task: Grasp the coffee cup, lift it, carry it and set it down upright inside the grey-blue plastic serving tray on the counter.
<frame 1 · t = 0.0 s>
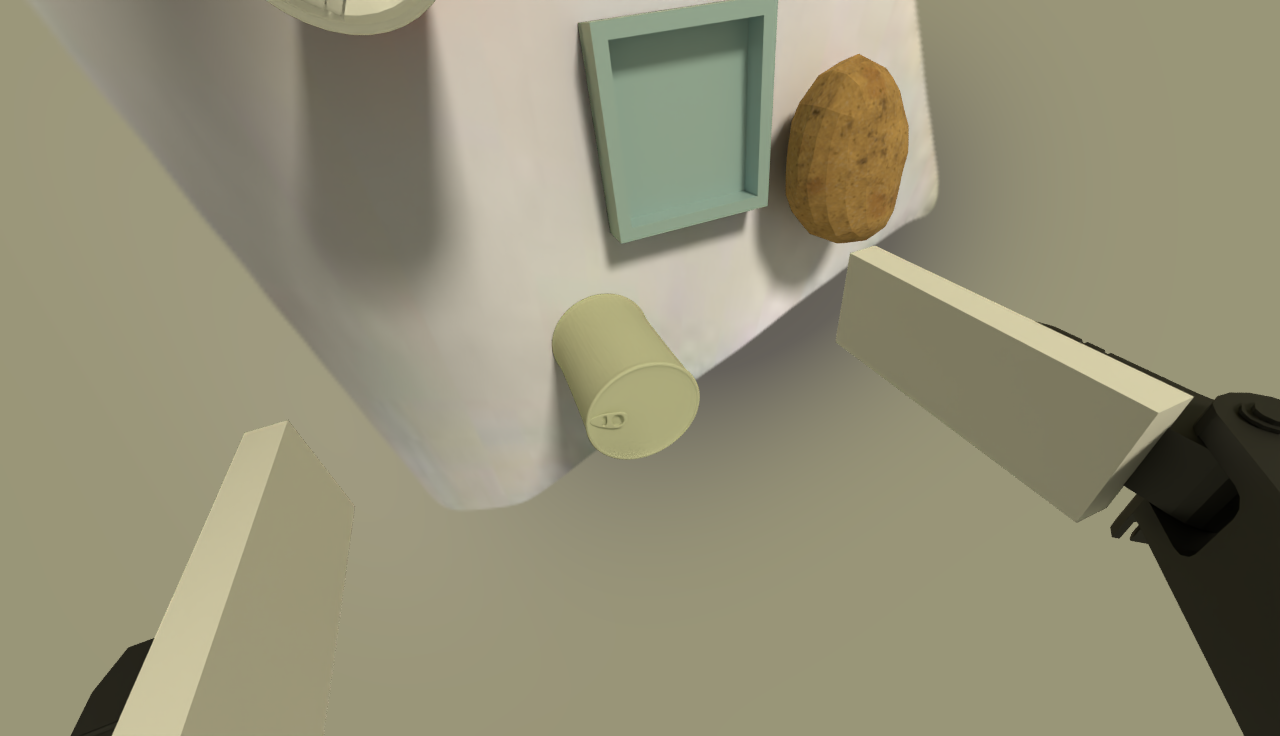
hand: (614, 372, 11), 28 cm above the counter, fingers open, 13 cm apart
tray: (677, 123, 36), on the counter
potato: (809, 146, 42), on the counter
can: (600, 337, 45), on the counter
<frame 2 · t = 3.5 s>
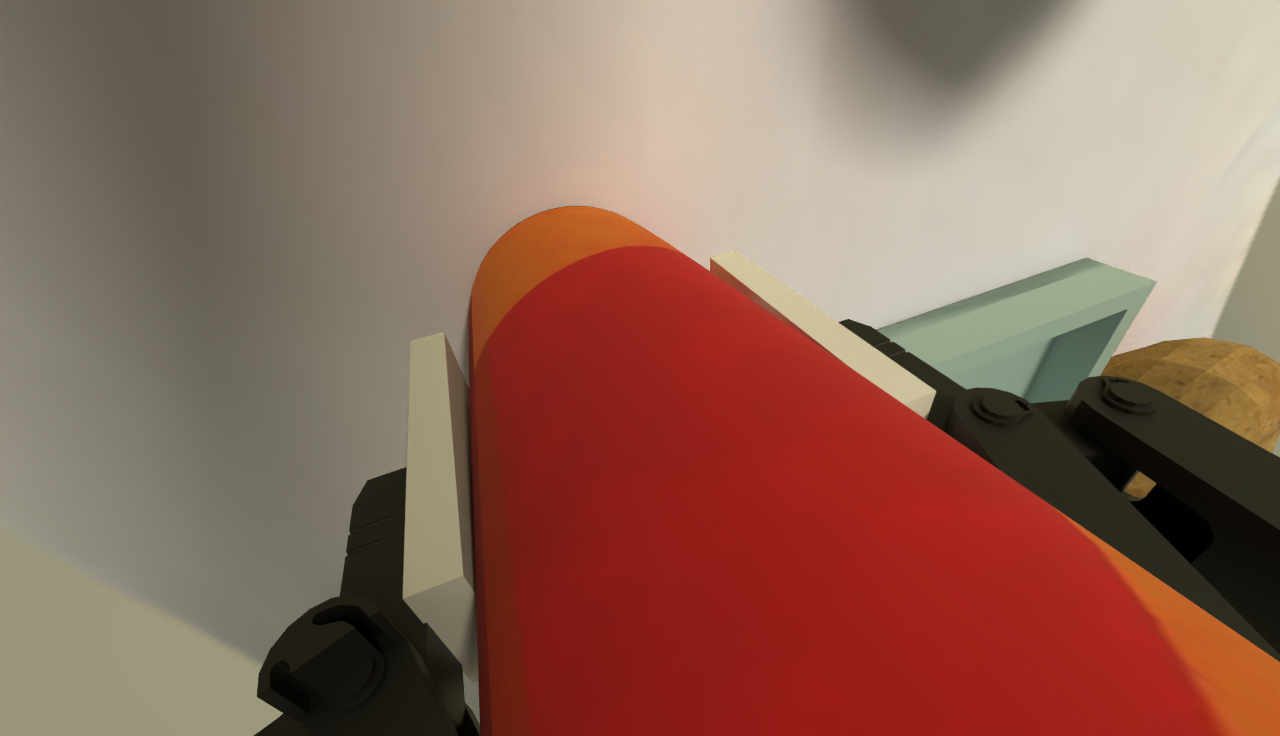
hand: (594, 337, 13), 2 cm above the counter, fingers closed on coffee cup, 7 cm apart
coffee cup: (573, 300, 14), on the counter, touching gripper
tray: (936, 411, 25), on the counter
potato: (1072, 392, 31), on the counter
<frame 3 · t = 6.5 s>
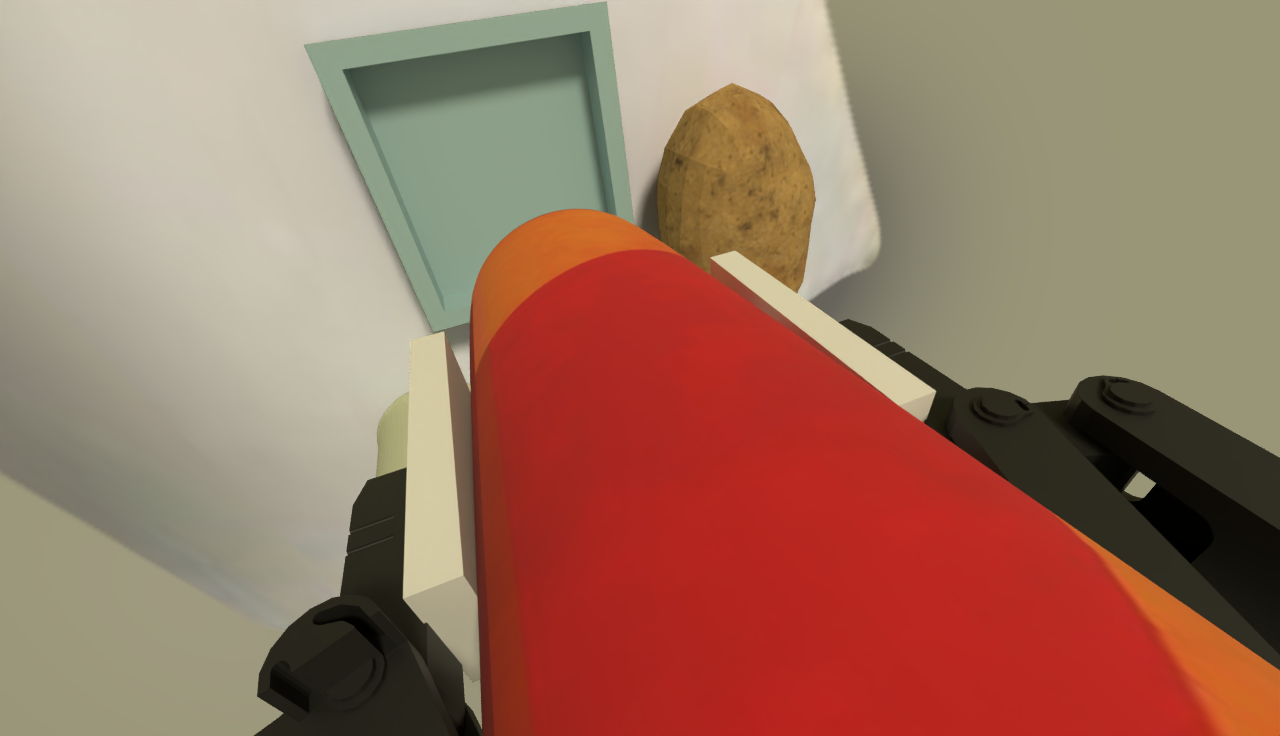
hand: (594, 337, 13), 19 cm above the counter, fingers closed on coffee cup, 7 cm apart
coffee cup: (574, 303, 14), point 17 cm above the counter, touching gripper
tray: (503, 173, 27), on the counter
potato: (701, 194, 32), on the counter
can: (447, 430, 36), on the counter
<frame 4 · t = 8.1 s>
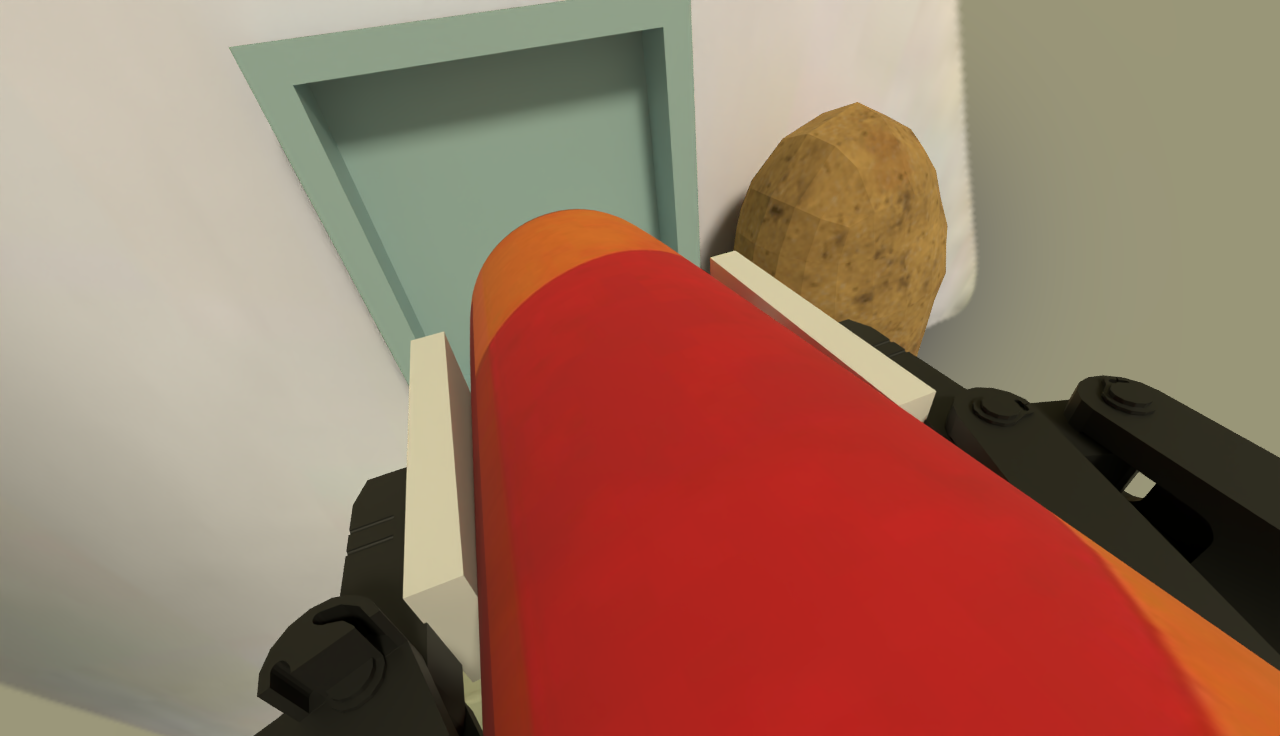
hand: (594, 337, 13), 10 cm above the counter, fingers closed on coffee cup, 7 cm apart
coffee cup: (574, 303, 14), point 8 cm above the counter, touching gripper
tray: (528, 220, 20), on the counter
potato: (777, 237, 25), on the counter
can: (451, 527, 28), on the counter
when the fingers open (4 cm above the counter, at t = 9.5 s): coffee cup drops 2 cm, resting on tray.
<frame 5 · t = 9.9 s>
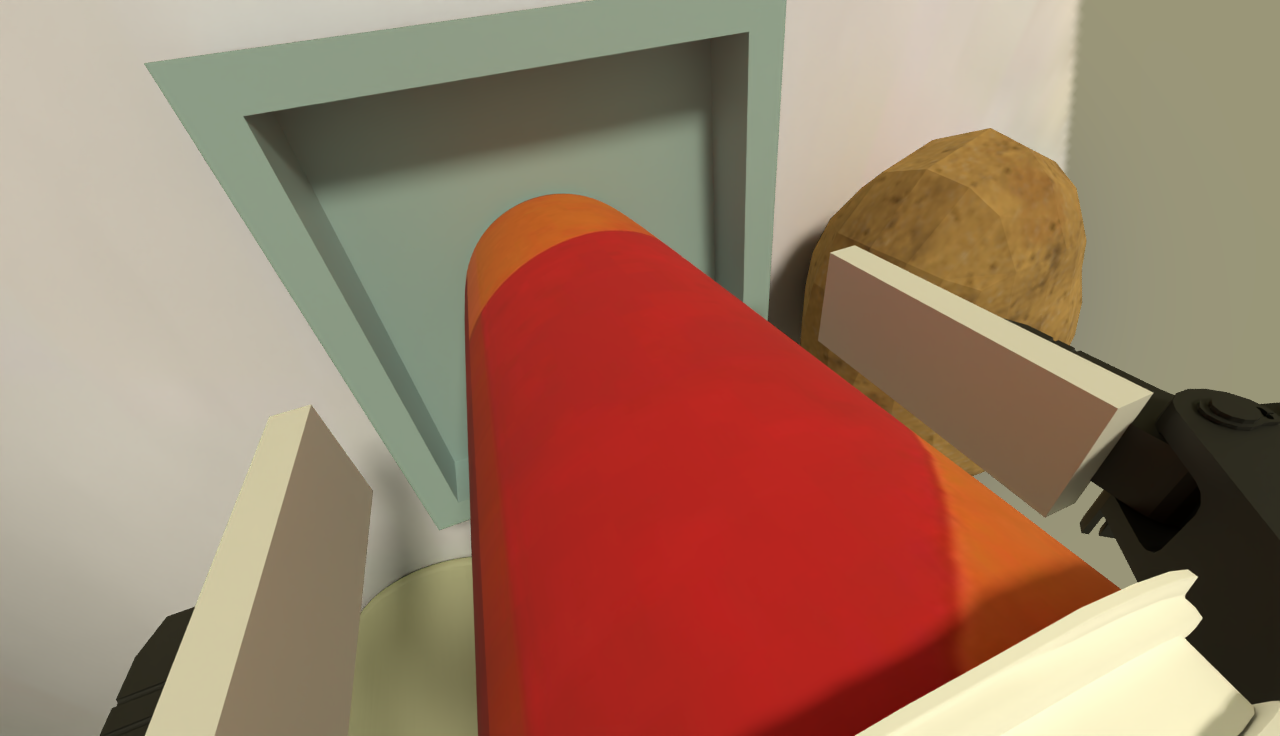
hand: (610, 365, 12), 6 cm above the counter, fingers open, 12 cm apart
coffee cup: (561, 281, 16), point 1 cm above the counter, touching tray
tray: (557, 271, 16), on the counter
potato: (844, 279, 21), on the counter
can: (457, 611, 25), on the counter
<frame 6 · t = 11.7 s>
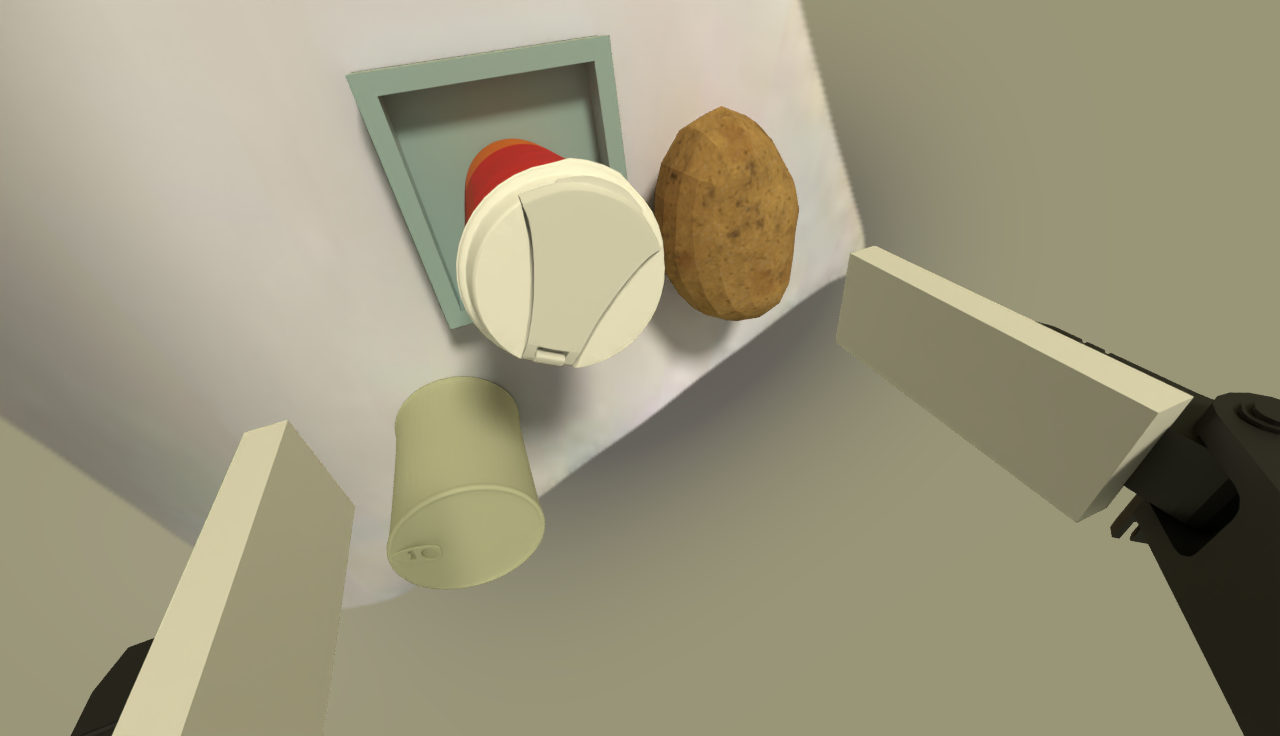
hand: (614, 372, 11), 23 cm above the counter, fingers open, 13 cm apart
coffee cup: (516, 188, 30), point 1 cm above the counter, touching tray
tray: (514, 185, 30), on the counter
potato: (696, 204, 35), on the counter
can: (459, 422, 38), on the counter
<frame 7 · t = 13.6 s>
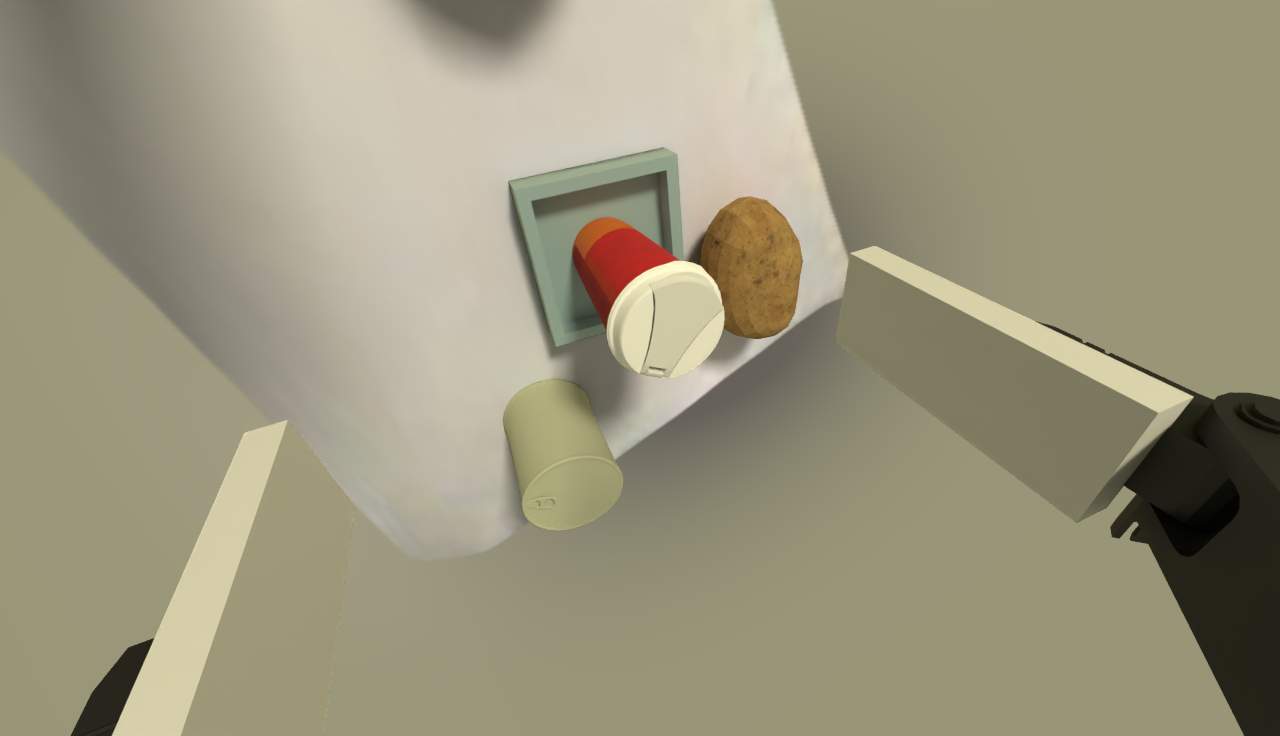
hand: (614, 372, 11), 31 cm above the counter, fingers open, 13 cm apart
coffee cup: (604, 249, 42), point 1 cm above the counter, touching tray
tray: (602, 246, 43), on the counter
potato: (726, 252, 48), on the counter
can: (547, 413, 51), on the counter
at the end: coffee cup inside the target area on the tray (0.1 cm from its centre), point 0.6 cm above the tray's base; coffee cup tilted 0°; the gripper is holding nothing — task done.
